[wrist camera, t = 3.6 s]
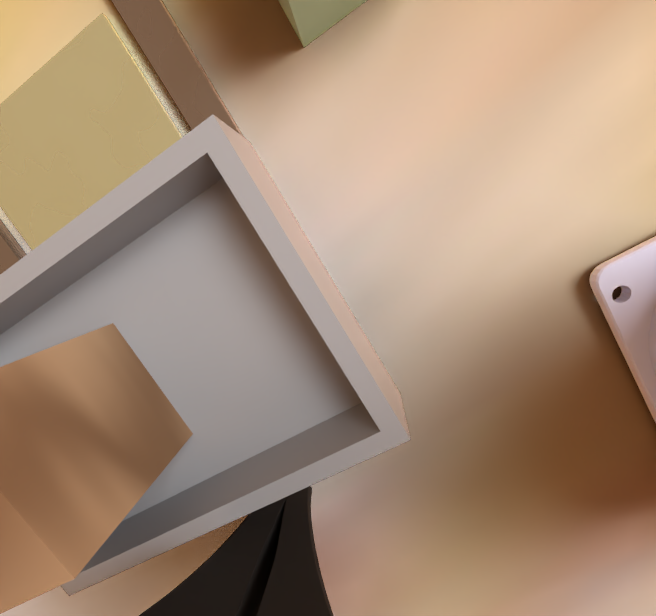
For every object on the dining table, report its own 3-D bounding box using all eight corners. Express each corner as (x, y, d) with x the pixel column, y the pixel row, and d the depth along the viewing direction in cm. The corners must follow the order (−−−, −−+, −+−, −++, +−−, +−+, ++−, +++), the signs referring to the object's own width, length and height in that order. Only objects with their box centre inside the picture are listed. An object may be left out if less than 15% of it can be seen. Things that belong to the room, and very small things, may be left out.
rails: (391, 382, 12) (391, 387, 12) (170, 491, 14) (165, 499, 14) (138, -38, 10) (129, -48, 10) (-80, 161, 12) (-94, 159, 12)
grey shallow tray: (395, 373, 12) (411, 439, 8) (145, 499, 14) (69, 595, 10) (264, 152, 10) (213, 113, 7) (13, 328, 13) (-125, 369, 9)
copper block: (192, 433, 11) (74, 578, 6) (97, 484, 11) (-67, 644, 7) (113, 323, 10) (-80, 397, 6) (18, 384, 11) (-215, 492, 6)
